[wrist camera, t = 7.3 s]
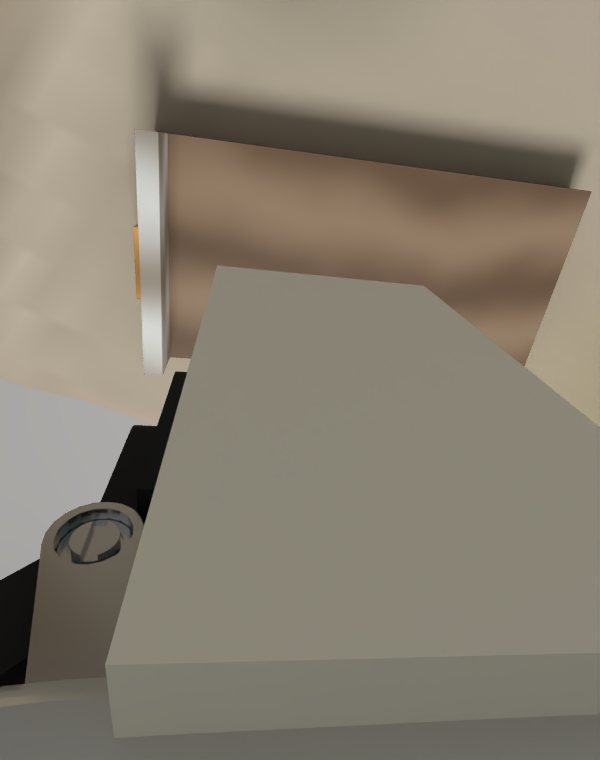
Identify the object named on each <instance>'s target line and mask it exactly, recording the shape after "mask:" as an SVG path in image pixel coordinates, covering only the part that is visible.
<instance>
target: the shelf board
mask: <svg viewBox="0 0 600 760" xmlns="http://www.w3.org/2000/svg"><path fill="white" fill-rule="evenodd" d="M134 132H135V157H136V183H137V208H138V224H137V225H136V226H134V227H133V228H134V251H135V274H136V297H137V299H141V311H142V337H143V362H144V375H159V376H163V373H164V371H165V368H166V366H167V363H168V360H169V358H170V357H176V358H191V357H192V354H193V350H194V346H195V343H196V339H197V336H198V332H199V329H200V325H201V321H202V318H203V314H204V311H205V307H206V304H207V300H208V297H209V293H210V289H211V286H212V282H213V279H214V275H215V272H216V268H217V265H218V266H229V267H239V268H249V269H259V270H269V271H279V272H290V273H300V274H310V275H320V276H330V277H340V278H351V279H361V280H371V281H381V282H391V283H401V284H412V285H422V286H425V287H426V288H427V289H429V290H430V291H431V292H432V293H434V294H435V295H436V296H437V297H439V298H440V299H441V300H442V301H444V302H445V303H446V304H447V305H449V306H450V307H451V308H452V309H453V310H455V311H456V312H457V313H458V314H460V315H461V316H462V317H463V318H465V319H466V320H467V321H468V322H470V323H471V324H472V325H473V326H475V327H476V328H477V329H478V330H480V331H481V332H482V333H483V334H484V335H486V336H487V337H488V338H489V339H491V340H492V341H493V342H494V343H496V344H497V345H498V346H499V347H501V348H502V349H503V350H504V351H506V352H507V353H508V354H509V355H511V356H512V357H513V358H514V359H516V360H517V361H518V362H519V363H520V364H522V365H523V366H524V365H525V363H526V360H527V358H528V355H529V353H530V350H531V347H532V345H533V342H534V340H535V337H536V334H537V332H538V329H539V327H540V324H541V321H542V319H543V316H544V314H545V311H546V308H547V306H548V303H549V301H550V298H551V295H552V293H553V290H554V288H555V285H556V282H557V280H558V277H559V275H560V272H561V270H562V267H563V264H564V262H565V259H566V257H567V254H568V251H569V249H570V246H571V244H572V241H573V238H574V236H575V233H576V231H577V228H578V225H579V223H580V220H581V218H582V215H583V212H584V210H585V207H586V205H587V202H588V199H589V197H590V194H591V191H584V190H577V189H570V188H562V187H555V186H548V185H541V184H533V183H526V182H519V181H511V180H504V179H497V178H490V177H482V176H475V175H468V174H460V173H453V172H446V171H439V170H431V169H424V168H417V167H409V166H402V165H395V164H388V163H380V162H373V161H366V160H358V159H351V158H344V157H337V156H329V155H322V154H315V153H307V152H300V151H293V150H286V149H278V148H271V147H264V146H257V145H249V144H242V143H235V142H227V141H220V140H213V139H206V138H198V137H191V136H184V135H176V134H169V133H162V132H155V131H147V130H139V129H134Z"/></svg>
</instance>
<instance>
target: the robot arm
mask: <svg viewBox="0 0 600 760" xmlns="http://www.w3.org/2000/svg"><path fill="white" fill-rule="evenodd" d="M186 375H187V372H175V374H174V377H173V380H172V383H171V386H170V389H169V392H168V395H167V398H166V401H165V404H164V407H163V410H162V413H161V416H160V419H159V422H158V425H157V426H142V425H134V426H133V427H132V429H131V431H130V433H129V435H128V438H127V440H126V443H125V445H124V447H123V450H122V452H121V454H120V457H119V459H118V462H117V464H116V467H115V469H114V471H113V473H112V476H111V478H110V481H109V483H108V485H107V488H106V490H105V493H104V495H103V497H102V500H101V502H99V503H92V504H88V505H84V506H80V507H78V508H76V509H74V510H71V511H69V512H67V513H65V514H64V515H63V516H61V517H60V518H59V519H57V520H56V521H55V522H54V523H53V524H52V525H51V526H50V528H49V529H48V530H47V532H46V533H45V536H44V538H43V541H42V544H41V553H40V559H39V560H37V561H35V562H33V563H31V564H29V565H28V566H26V567H24V568H22V569H20V570H18V571H16V572H15V573H13V574H11V575H9V576H7V577H5V578H4V579H2V580H0V760H600V714H595V715H571V716H547V717H525V718H503V719H482V720H460V721H439V722H418V723H397V724H378V725H358V726H338V727H318V728H298V729H277V730H257V731H237V732H217V733H197V734H177V735H160V736H144V737H127V738H114V735H113V727H112V719H111V710H110V702H109V694H108V686H107V677H106V669H105V663H106V660H107V656H108V653H109V649H110V646H111V642H112V638H113V635H114V631H115V628H116V624H117V621H118V617H119V614H120V610H121V606H122V603H123V599H124V596H125V592H126V589H127V585H128V581H129V578H130V574H131V571H132V567H133V564H134V560H135V557H136V553H137V549H138V546H139V542H140V539H141V535H142V532H143V528H144V524H145V521H146V517H147V514H148V510H149V507H150V503H151V500H152V496H153V492H154V489H155V485H156V482H157V478H158V475H159V471H160V467H161V464H162V460H163V457H164V453H165V450H166V446H167V443H168V439H169V435H170V432H171V428H172V425H173V421H174V418H175V414H176V411H177V407H178V403H179V400H180V396H181V393H182V389H183V386H184V382H185V378H186Z"/></svg>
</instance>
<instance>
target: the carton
mask: <svg viewBox="0 0 600 760" xmlns="http://www.w3.org/2000/svg"><path fill="white" fill-rule="evenodd" d="M105 669H106V677H107V686H108V694H109V702H110V710H111V719H112V727H113V735H114V738H127V737H144V736H160V735H177V734H197V733H217V732H237V731H257V730H277V729H298V728H318V727H338V726H358V725H378V724H397V723H418V722H439V721H460V720H482V719H503V718H525V717H547V716H571V715H595V714H600V427H599V426H597V425H596V424H595V423H594V422H592V421H591V420H590V419H589V418H587V417H586V416H585V415H584V414H583V413H581V412H580V411H579V410H578V409H576V408H575V407H574V406H573V405H571V404H570V403H569V402H568V401H566V400H565V399H564V398H563V397H561V396H560V395H559V394H558V393H556V392H555V391H554V390H553V389H551V388H550V387H549V386H548V385H547V384H545V383H544V382H543V381H542V380H540V379H539V378H538V377H537V376H535V375H534V374H533V373H532V372H530V371H529V370H528V369H527V368H525V367H524V366H523V365H522V364H520V363H519V362H518V361H517V360H516V359H514V358H513V357H512V356H511V355H509V354H508V353H507V352H506V351H504V350H503V349H502V348H501V347H499V346H498V345H497V344H496V343H494V342H493V341H492V340H491V339H489V338H488V337H487V336H486V335H484V334H483V333H482V332H481V331H480V330H478V329H477V328H476V327H475V326H473V325H472V324H471V323H470V322H468V321H467V320H466V319H465V318H463V317H462V316H461V315H460V314H458V313H457V312H456V311H455V310H453V309H452V308H451V307H450V306H449V305H447V304H446V303H445V302H444V301H442V300H441V299H440V298H439V297H437V296H436V295H435V294H434V293H432V292H431V291H430V290H429V289H427V288H426V287H425V286H422V285H412V284H401V283H391V282H381V281H371V280H361V279H351V278H340V277H330V276H320V275H310V274H300V273H290V272H279V271H269V270H259V269H249V268H239V267H229V266H218V265H217V268H216V272H215V275H214V279H213V282H212V286H211V289H210V293H209V297H208V300H207V304H206V307H205V311H204V314H203V318H202V321H201V325H200V329H199V332H198V336H197V339H196V343H195V346H194V350H193V354H192V357H191V361H190V364H189V368H188V371H187V375H186V378H185V382H184V386H183V389H182V393H181V396H180V400H179V403H178V407H177V411H176V414H175V418H174V421H173V425H172V428H171V432H170V435H169V439H168V443H167V446H166V450H165V453H164V457H163V460H162V464H161V467H160V471H159V475H158V478H157V482H156V485H155V489H154V492H153V496H152V500H151V503H150V507H149V510H148V514H147V517H146V521H145V524H144V528H143V532H142V535H141V539H140V542H139V546H138V549H137V553H136V557H135V560H134V564H133V567H132V571H131V574H130V578H129V581H128V585H127V589H126V592H125V596H124V599H123V603H122V606H121V610H120V614H119V617H118V621H117V624H116V628H115V631H114V635H113V638H112V642H111V646H110V649H109V653H108V656H107V660H106V663H105Z"/></svg>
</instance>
